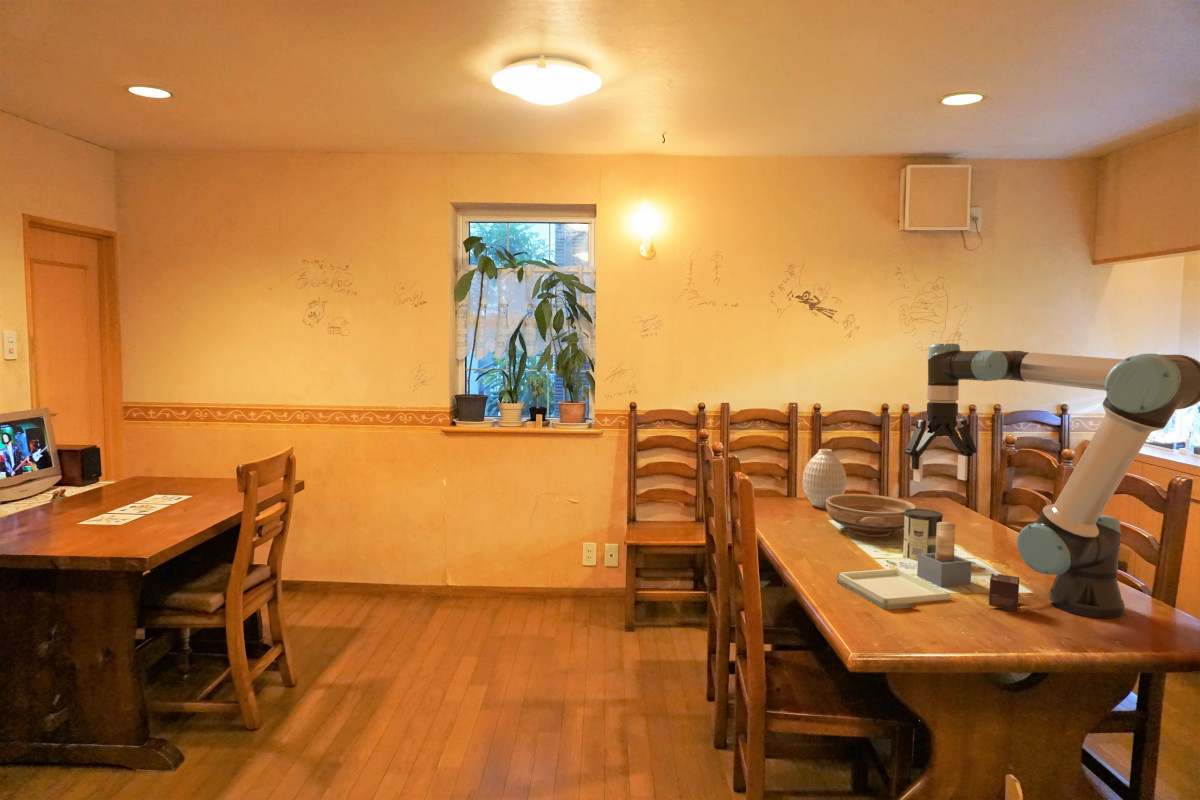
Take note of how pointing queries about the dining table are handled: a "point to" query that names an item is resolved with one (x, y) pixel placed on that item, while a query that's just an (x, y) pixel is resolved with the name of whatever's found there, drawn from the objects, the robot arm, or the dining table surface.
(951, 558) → the dowel
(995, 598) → the box
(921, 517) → the coffee can
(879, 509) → the ceramic bowl
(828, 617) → the dining table surface
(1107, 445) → the robot arm
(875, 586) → the tray
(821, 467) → the vase
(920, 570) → the grey square bin
